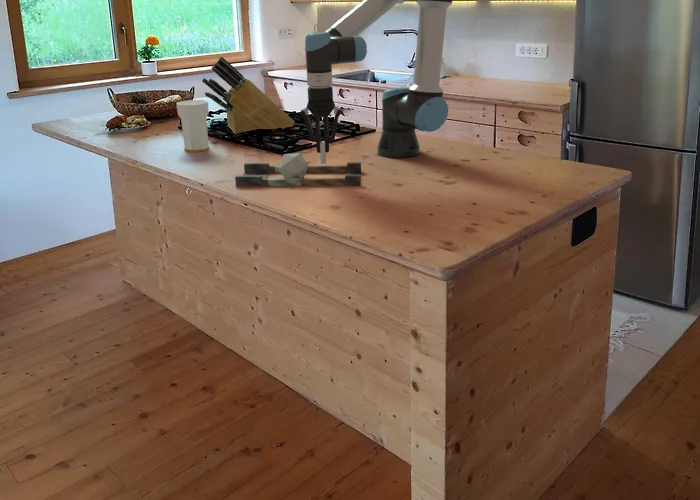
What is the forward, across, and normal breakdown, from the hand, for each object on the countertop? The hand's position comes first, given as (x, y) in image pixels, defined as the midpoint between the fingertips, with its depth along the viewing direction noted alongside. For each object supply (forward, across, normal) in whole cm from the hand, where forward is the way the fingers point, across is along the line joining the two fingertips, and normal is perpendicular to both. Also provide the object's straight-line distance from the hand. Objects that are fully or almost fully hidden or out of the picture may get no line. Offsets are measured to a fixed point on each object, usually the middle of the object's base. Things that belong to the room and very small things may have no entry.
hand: (323, 162), depth 217 cm
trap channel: (+5, -8, 0) cm, 9 cm away
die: (+5, -10, -2) cm, 11 cm away
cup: (+5, -50, +41) cm, 65 cm away
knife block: (+6, -36, +73) cm, 81 cm away
